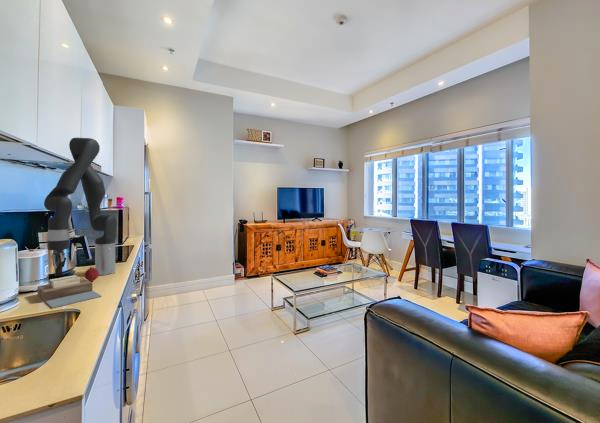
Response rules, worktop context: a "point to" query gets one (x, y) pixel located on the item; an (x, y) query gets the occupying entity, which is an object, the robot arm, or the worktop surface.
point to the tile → (64, 281)
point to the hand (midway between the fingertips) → (58, 275)
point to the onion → (91, 274)
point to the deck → (63, 290)
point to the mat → (72, 299)
